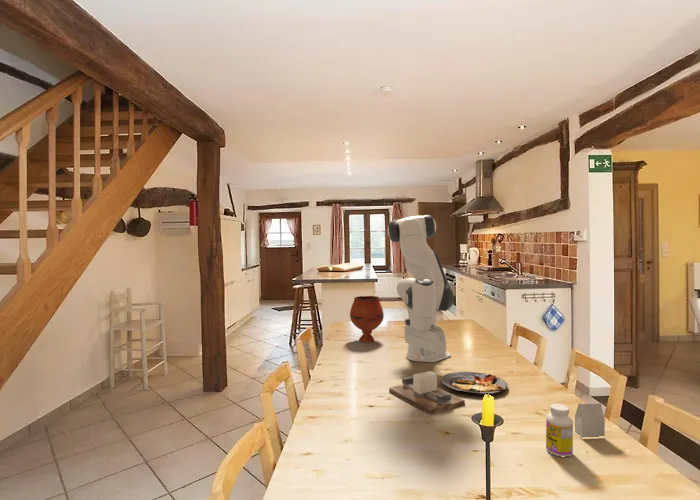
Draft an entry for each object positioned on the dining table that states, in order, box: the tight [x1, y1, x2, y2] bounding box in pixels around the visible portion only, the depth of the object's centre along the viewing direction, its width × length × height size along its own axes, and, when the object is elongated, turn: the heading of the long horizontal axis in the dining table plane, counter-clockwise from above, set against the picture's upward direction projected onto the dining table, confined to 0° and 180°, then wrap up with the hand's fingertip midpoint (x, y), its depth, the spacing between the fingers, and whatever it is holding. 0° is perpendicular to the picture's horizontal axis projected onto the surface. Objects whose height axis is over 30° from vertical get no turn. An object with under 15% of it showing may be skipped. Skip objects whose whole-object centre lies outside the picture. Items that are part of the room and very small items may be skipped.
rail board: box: [388, 375, 466, 415], centre depth 155 cm, size 16×24×4 cm, turn 29°
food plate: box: [441, 370, 508, 395], centre depth 166 cm, size 25×23×4 cm
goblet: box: [349, 295, 385, 343], centre depth 238 cm, size 19×19×25 cm
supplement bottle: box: [545, 403, 574, 458], centre depth 115 cm, size 7×7×13 cm
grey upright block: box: [574, 402, 606, 438], centre depth 124 cm, size 4×7×10 cm, turn 92°
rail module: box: [412, 370, 438, 397], centre depth 155 cm, size 8×4×7 cm, turn 119°
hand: (424, 360), depth 154 cm, fingers closed
